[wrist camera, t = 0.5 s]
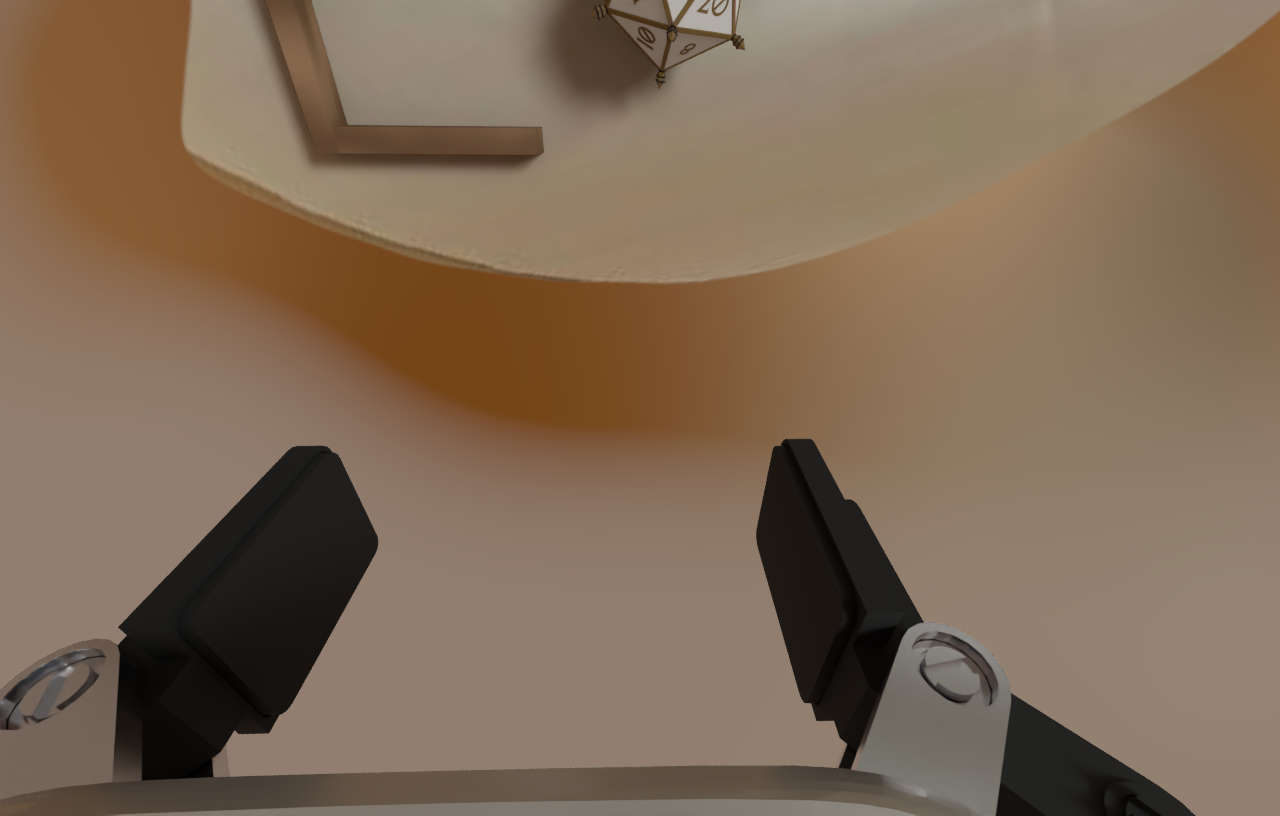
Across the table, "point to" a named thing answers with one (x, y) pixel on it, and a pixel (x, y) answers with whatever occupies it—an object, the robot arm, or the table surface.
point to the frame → (335, 136)
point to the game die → (674, 27)
